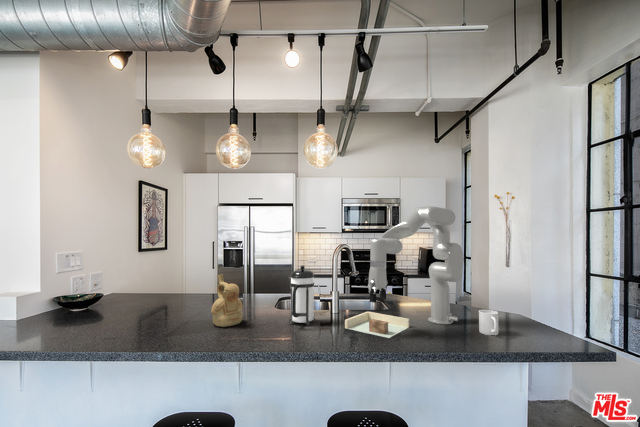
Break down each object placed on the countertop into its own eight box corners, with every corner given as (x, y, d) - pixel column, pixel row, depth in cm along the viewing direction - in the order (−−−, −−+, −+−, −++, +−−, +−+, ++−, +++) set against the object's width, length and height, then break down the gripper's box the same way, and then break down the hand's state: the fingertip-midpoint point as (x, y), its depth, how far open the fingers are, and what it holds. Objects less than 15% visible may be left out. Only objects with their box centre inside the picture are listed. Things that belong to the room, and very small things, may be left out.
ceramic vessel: (219, 331, 163) (220, 278, 164) (203, 322, 178) (204, 274, 179) (250, 324, 175) (251, 275, 176) (233, 317, 189) (233, 272, 190)
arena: (409, 328, 170) (409, 318, 170) (389, 339, 153) (389, 328, 153) (367, 319, 185) (367, 311, 185) (344, 329, 168) (344, 319, 168)
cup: (493, 330, 166) (493, 309, 167) (505, 338, 154) (505, 316, 155) (476, 330, 167) (476, 309, 167) (487, 338, 155) (486, 315, 155)
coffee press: (282, 320, 182) (282, 264, 183) (310, 317, 188) (310, 263, 190) (292, 329, 166) (293, 268, 167) (322, 326, 172) (322, 266, 174)
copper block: (388, 332, 161) (388, 321, 161) (384, 334, 158) (384, 323, 158) (373, 329, 166) (373, 319, 166) (369, 331, 162) (369, 320, 163)
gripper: (380, 262, 172) (379, 297, 171) (362, 265, 159) (361, 302, 158) (393, 263, 167) (393, 299, 167) (376, 266, 154) (376, 304, 153)
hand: (378, 300), depth 162 cm, fingers open, 9 cm apart
